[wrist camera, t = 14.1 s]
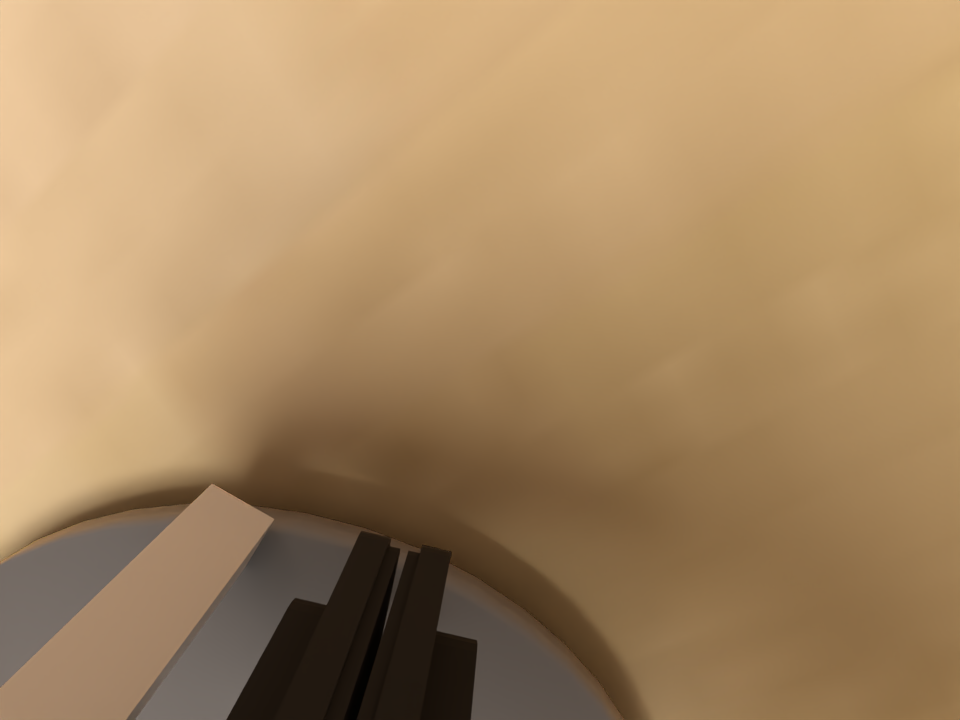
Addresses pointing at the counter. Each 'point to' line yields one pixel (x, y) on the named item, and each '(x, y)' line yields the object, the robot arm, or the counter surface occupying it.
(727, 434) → the counter surface
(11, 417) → the counter surface
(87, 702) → the disc
